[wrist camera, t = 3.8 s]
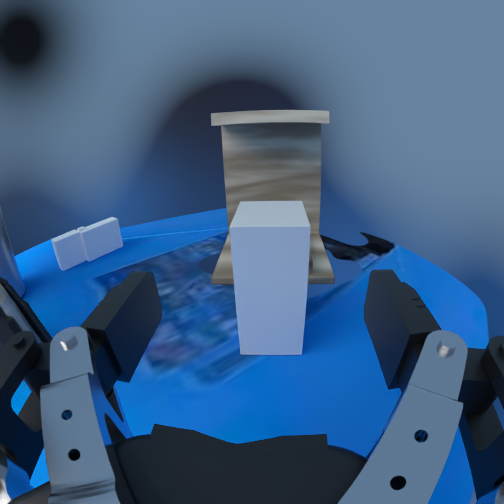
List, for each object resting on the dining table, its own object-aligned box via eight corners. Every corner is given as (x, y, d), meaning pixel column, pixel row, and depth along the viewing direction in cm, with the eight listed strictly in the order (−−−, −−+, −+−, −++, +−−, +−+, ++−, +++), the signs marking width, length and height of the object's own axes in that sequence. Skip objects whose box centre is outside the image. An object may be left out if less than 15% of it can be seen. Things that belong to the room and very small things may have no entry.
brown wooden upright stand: (334, 283, 31) (342, 108, 23) (212, 284, 33) (195, 111, 24) (317, 234, 45) (318, 113, 37) (230, 234, 46) (222, 115, 38)
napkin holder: (133, 239, 48) (128, 209, 46) (125, 268, 38) (116, 231, 36) (62, 252, 45) (55, 223, 42) (41, 281, 35) (30, 247, 32)
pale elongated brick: (301, 354, 22) (310, 226, 17) (240, 354, 22) (229, 227, 18) (297, 309, 28) (301, 199, 23) (247, 309, 28) (240, 200, 23)
